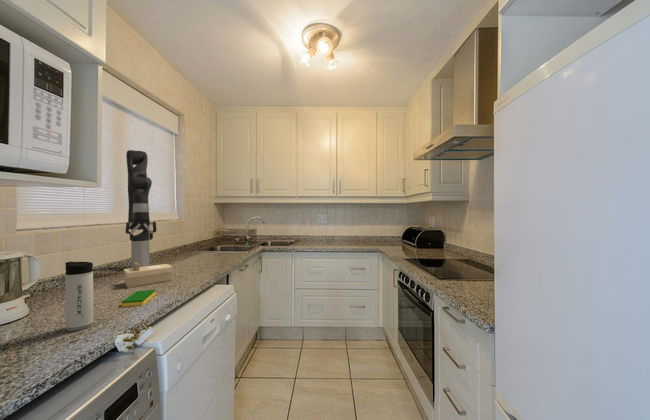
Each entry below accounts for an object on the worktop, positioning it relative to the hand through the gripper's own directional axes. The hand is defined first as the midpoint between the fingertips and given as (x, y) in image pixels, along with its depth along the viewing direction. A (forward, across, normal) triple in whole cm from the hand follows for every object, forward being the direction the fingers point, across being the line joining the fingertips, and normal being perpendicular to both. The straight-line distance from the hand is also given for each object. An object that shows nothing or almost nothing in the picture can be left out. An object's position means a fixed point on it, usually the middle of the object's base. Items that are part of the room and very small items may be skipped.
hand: (141, 240), depth 150 cm
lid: (+16, +1, +22) cm, 27 cm away
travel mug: (+24, +27, +67) cm, 76 cm away
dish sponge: (+23, +9, +50) cm, 56 cm away
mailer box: (+20, +1, +22) cm, 30 cm away
